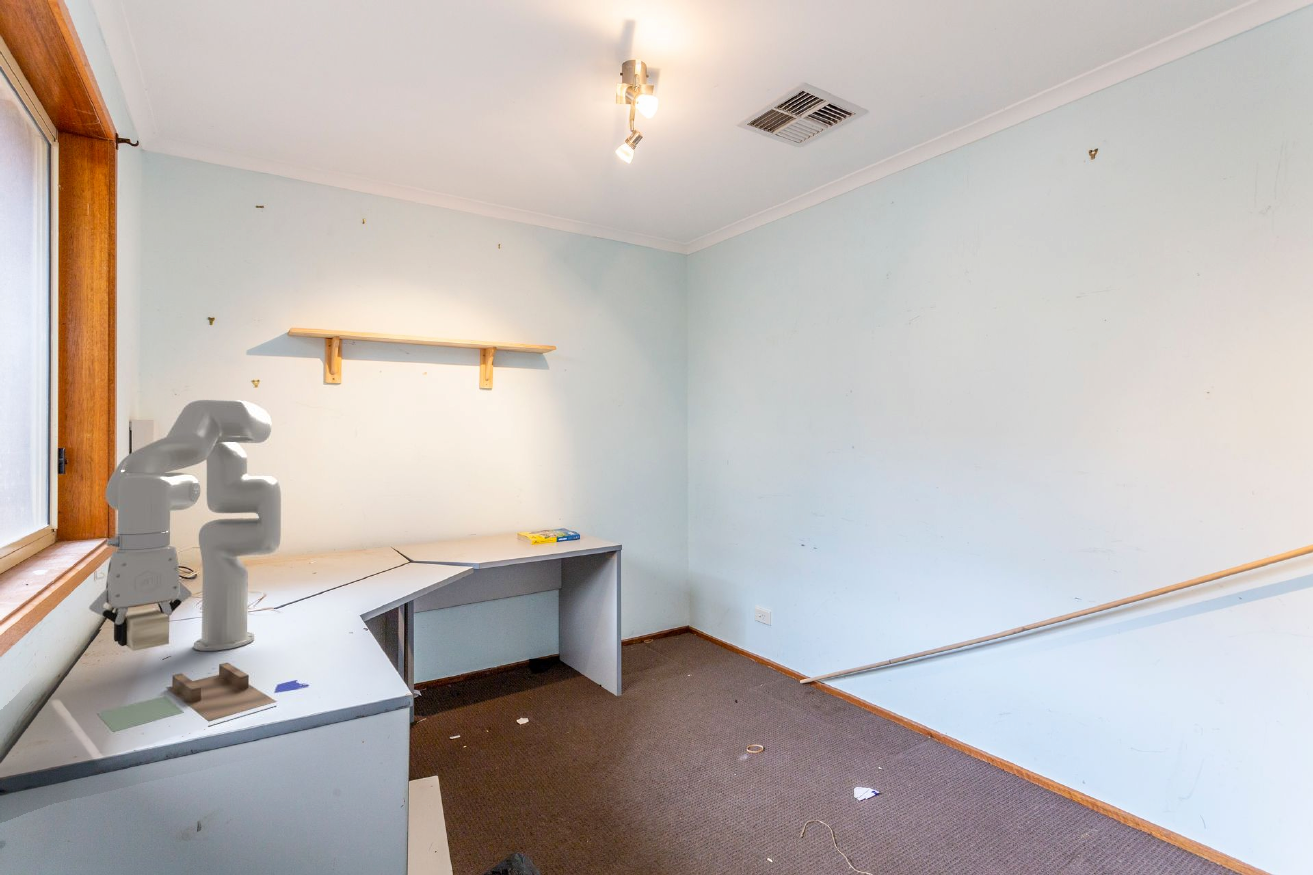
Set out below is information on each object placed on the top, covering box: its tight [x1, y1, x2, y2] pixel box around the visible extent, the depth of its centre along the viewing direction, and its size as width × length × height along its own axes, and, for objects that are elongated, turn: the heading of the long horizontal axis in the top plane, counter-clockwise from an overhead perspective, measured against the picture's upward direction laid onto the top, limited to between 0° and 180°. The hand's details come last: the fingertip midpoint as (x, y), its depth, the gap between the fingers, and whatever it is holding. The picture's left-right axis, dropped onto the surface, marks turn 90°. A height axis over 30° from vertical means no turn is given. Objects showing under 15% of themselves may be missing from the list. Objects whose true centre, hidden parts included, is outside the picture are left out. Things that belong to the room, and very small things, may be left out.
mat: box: [97, 695, 185, 733], centre depth 113 cm, size 12×10×1 cm
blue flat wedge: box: [273, 679, 310, 694], centre depth 130 cm, size 2×8×12 cm
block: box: [125, 607, 170, 652], centre depth 113 cm, size 10×5×5 cm, turn 52°
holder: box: [166, 662, 277, 728], centre depth 122 cm, size 25×11×4 cm, turn 52°
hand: (142, 639), depth 113 cm, fingers closed on block, 5 cm apart
